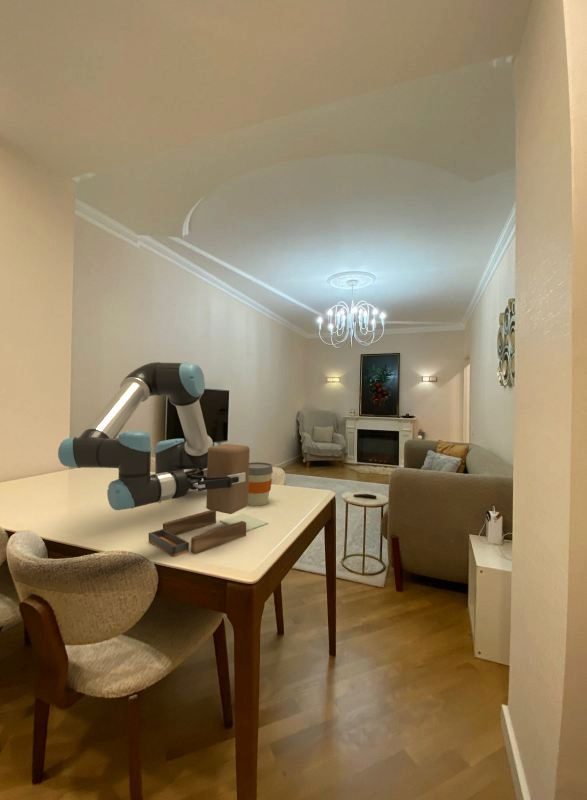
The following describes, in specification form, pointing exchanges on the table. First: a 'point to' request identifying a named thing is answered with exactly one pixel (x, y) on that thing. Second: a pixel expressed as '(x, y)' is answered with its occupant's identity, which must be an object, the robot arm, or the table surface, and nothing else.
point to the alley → (209, 538)
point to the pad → (250, 521)
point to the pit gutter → (168, 542)
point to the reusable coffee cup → (259, 483)
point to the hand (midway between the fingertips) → (232, 473)
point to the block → (221, 465)
